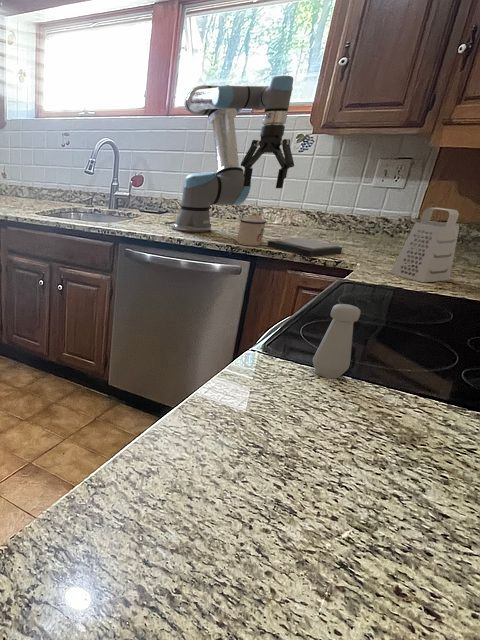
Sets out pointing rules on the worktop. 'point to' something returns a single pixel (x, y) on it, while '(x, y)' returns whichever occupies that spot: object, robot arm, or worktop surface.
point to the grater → (429, 249)
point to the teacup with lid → (251, 230)
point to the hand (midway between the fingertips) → (262, 187)
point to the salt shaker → (336, 342)
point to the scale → (305, 247)
